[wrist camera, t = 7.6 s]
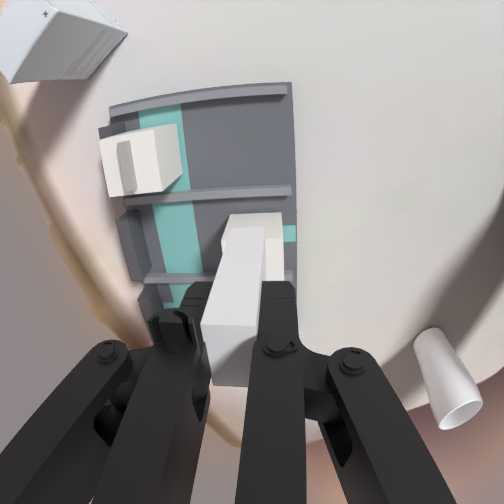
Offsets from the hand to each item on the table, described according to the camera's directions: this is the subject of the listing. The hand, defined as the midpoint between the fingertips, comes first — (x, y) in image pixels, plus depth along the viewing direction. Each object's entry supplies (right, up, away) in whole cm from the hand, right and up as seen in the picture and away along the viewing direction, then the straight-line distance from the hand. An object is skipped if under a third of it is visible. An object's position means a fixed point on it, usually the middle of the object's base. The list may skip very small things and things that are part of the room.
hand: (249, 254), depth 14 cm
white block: (-9, +10, +13) cm, 19 cm away
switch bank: (-4, +3, +19) cm, 20 cm away
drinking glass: (+27, -13, +26) cm, 39 cm away
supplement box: (-18, +24, +10) cm, 31 cm away
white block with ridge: (+1, +2, +17) cm, 17 cm away
